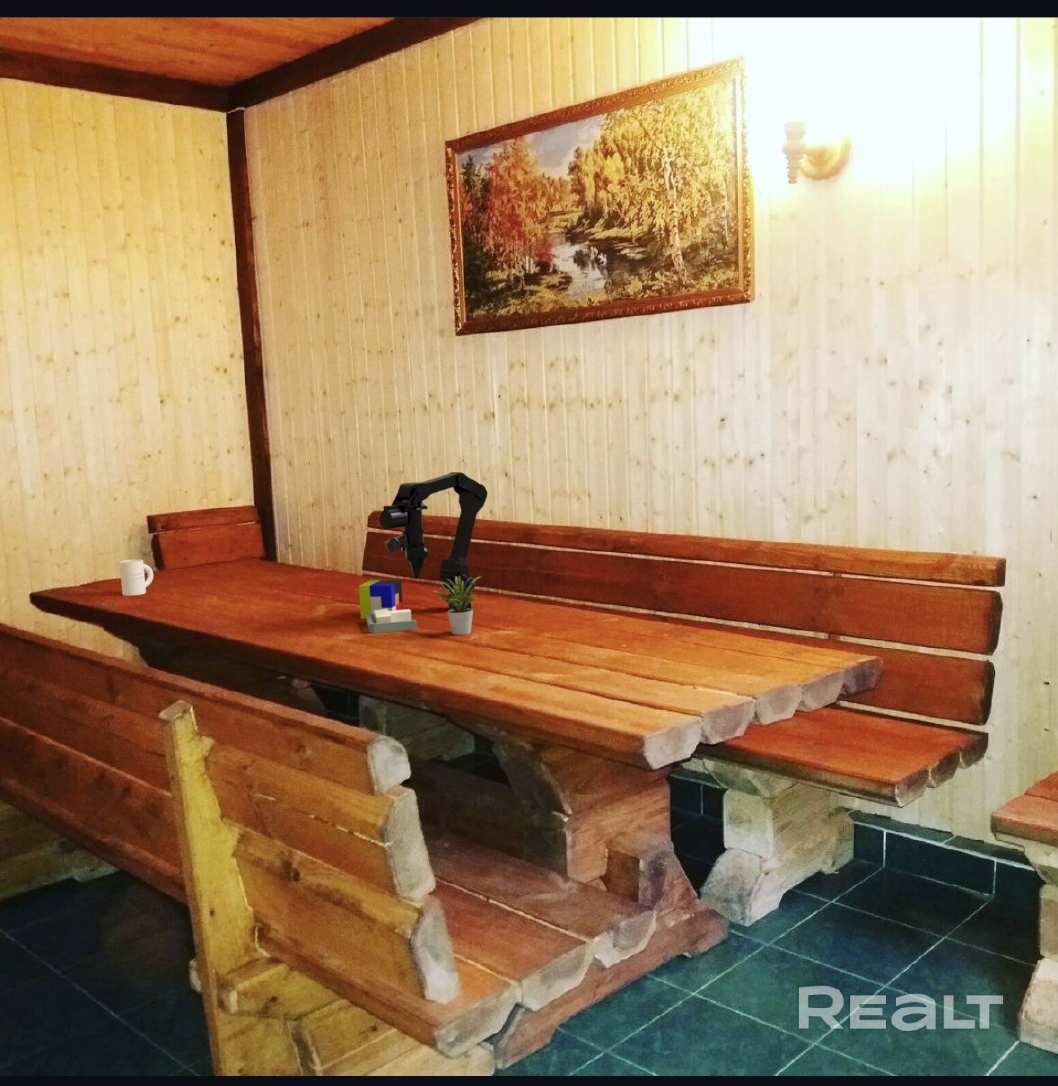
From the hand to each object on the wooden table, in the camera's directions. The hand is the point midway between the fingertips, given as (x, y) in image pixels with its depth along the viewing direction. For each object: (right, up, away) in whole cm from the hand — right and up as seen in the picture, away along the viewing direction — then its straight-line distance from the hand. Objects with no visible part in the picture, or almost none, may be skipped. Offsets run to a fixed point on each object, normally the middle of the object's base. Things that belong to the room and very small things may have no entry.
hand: (416, 578), depth 328 cm
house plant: (+15, -14, -21) cm, 30 cm away
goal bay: (-7, -13, -8) cm, 17 cm away
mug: (-107, -8, +74) cm, 131 cm away
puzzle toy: (-11, -12, +9) cm, 19 cm away
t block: (-7, -13, -8) cm, 17 cm away
